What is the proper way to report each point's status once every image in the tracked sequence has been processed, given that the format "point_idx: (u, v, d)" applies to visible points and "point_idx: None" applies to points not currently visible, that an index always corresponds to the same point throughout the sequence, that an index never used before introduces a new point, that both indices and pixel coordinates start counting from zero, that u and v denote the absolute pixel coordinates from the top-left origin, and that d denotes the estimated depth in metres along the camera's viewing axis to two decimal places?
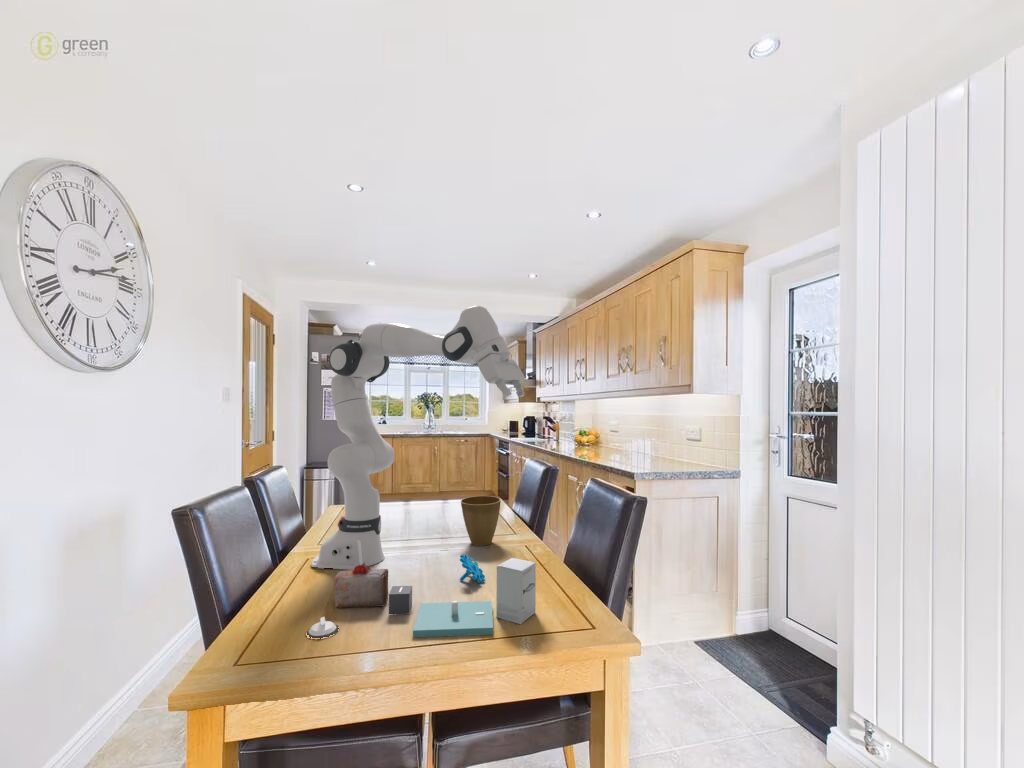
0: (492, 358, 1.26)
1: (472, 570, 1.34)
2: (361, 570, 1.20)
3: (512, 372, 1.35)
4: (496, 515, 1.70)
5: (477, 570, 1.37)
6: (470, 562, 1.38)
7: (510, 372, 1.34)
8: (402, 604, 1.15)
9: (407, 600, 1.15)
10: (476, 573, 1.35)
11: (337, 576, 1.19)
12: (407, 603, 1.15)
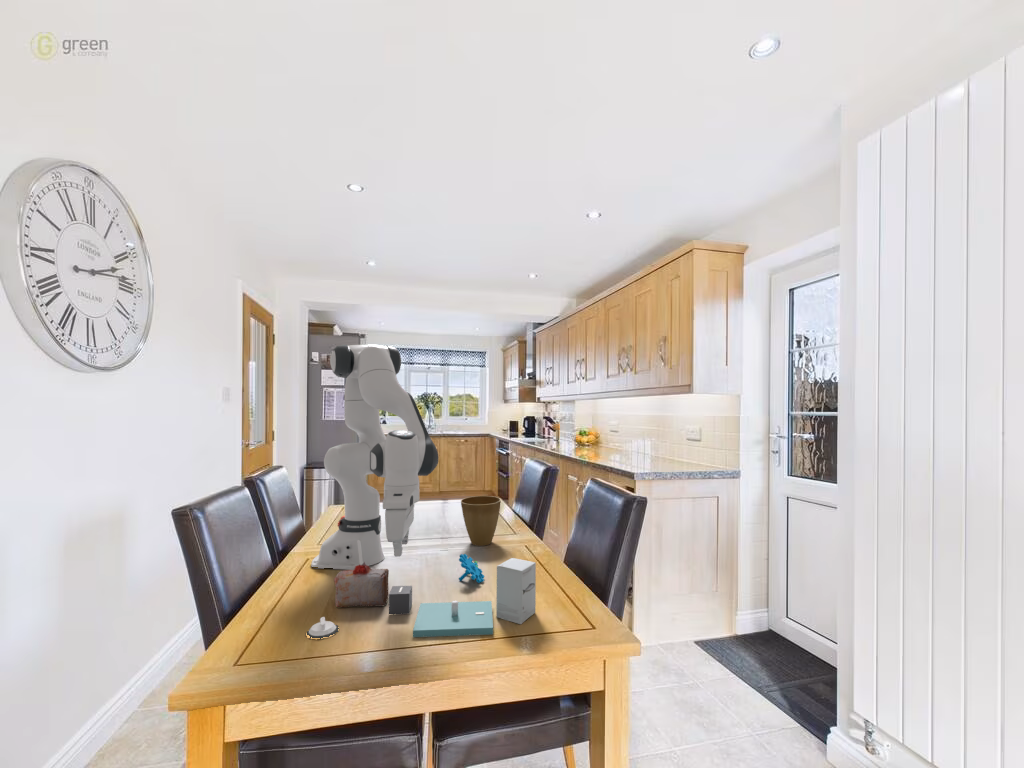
0: (405, 517, 1.10)
1: (471, 570, 1.34)
2: (361, 570, 1.20)
3: (409, 520, 1.20)
4: (496, 515, 1.70)
5: (476, 570, 1.37)
6: (469, 562, 1.38)
7: (409, 521, 1.19)
8: (402, 604, 1.15)
9: (407, 600, 1.15)
10: (475, 573, 1.35)
11: (337, 576, 1.20)
12: (407, 603, 1.15)
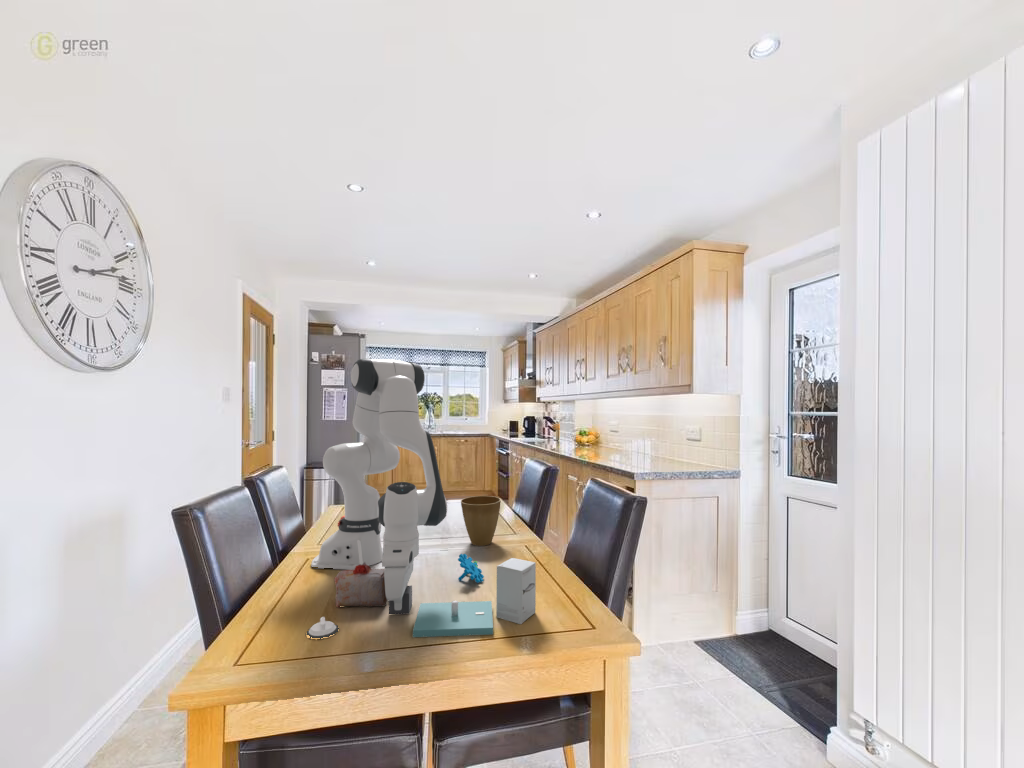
0: (404, 575, 1.09)
1: (470, 570, 1.34)
2: (361, 570, 1.20)
3: (409, 573, 1.20)
4: (496, 515, 1.70)
5: (476, 570, 1.37)
6: (469, 562, 1.38)
7: (408, 574, 1.19)
8: None
9: (407, 600, 1.15)
10: (474, 573, 1.35)
11: (338, 576, 1.20)
12: (407, 603, 1.15)
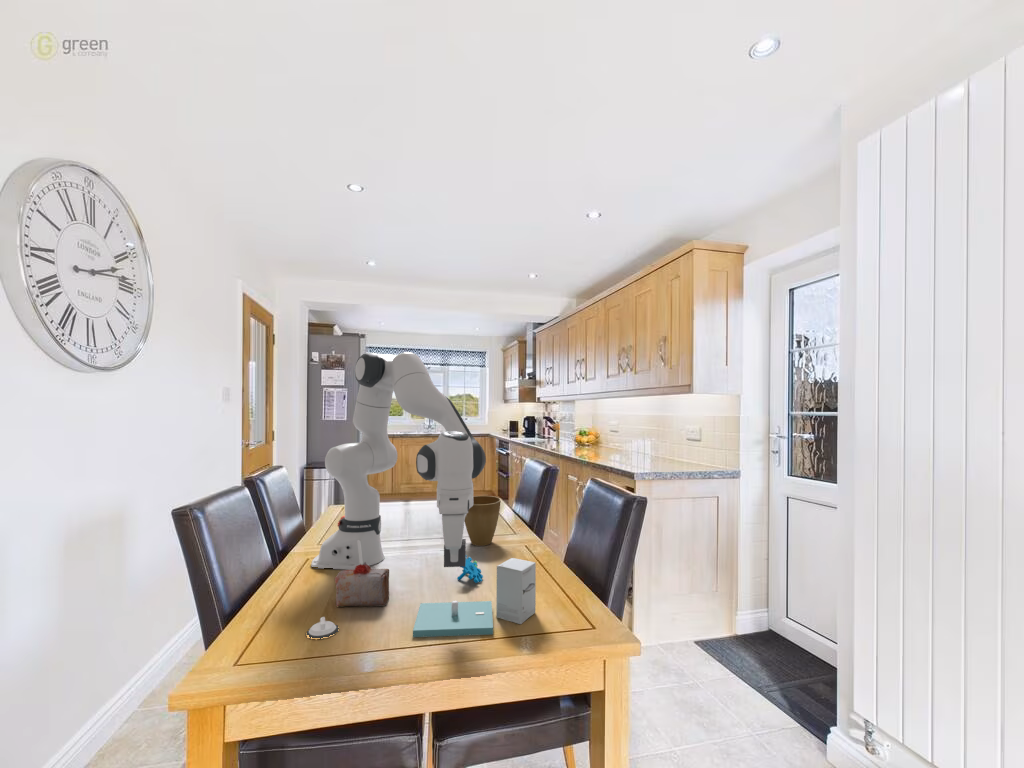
0: (463, 523, 1.04)
1: (469, 570, 1.34)
2: (362, 570, 1.20)
3: None
4: (496, 515, 1.70)
5: (475, 570, 1.37)
6: (468, 562, 1.38)
7: None
8: (458, 557, 1.10)
9: (463, 552, 1.10)
10: (473, 573, 1.35)
11: (338, 575, 1.20)
12: (463, 555, 1.10)
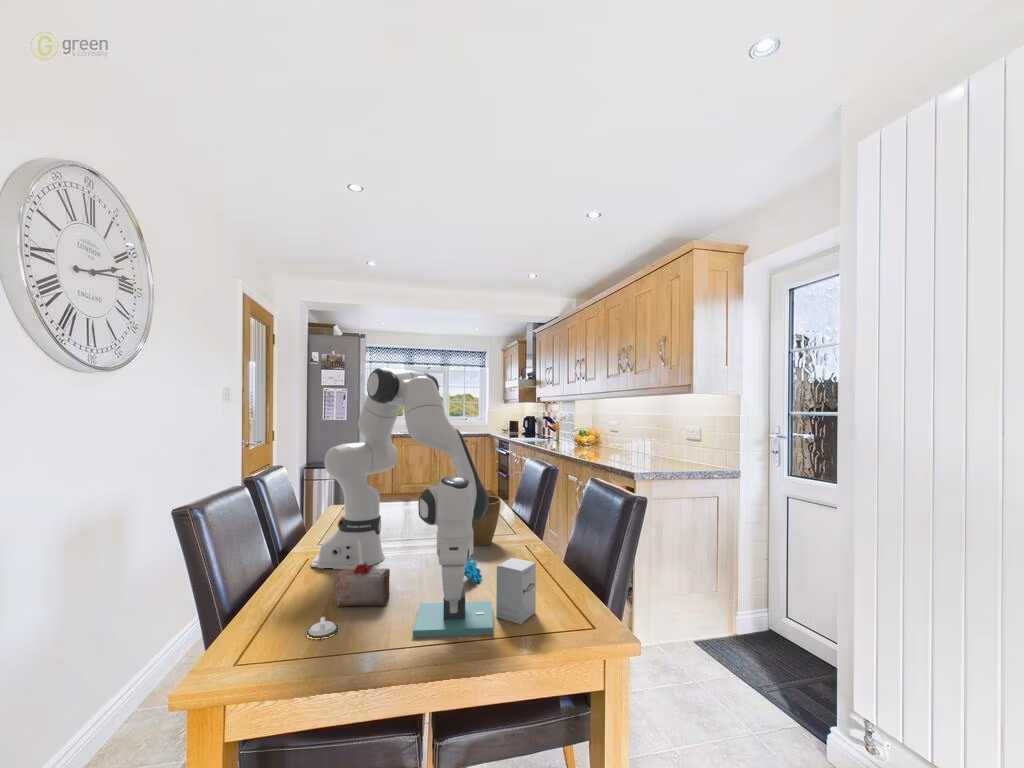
0: (463, 574, 1.04)
1: (467, 569, 1.34)
2: (362, 569, 1.20)
3: None
4: (496, 515, 1.70)
5: (474, 570, 1.37)
6: None
7: None
8: None
9: (463, 604, 1.10)
10: (471, 573, 1.35)
11: (338, 575, 1.20)
12: (463, 608, 1.10)
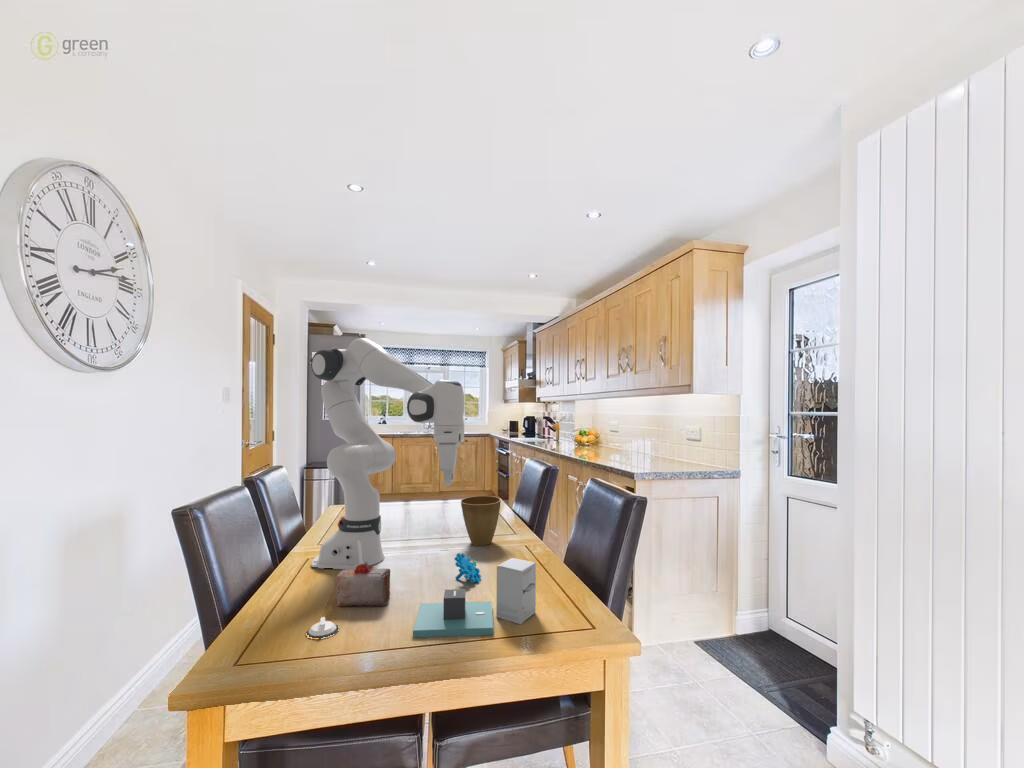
0: (455, 450, 1.27)
1: (466, 569, 1.34)
2: (362, 569, 1.21)
3: (455, 457, 1.37)
4: (496, 515, 1.70)
5: (472, 570, 1.37)
6: (466, 561, 1.38)
7: (455, 458, 1.36)
8: (457, 609, 1.09)
9: (463, 604, 1.10)
10: (470, 573, 1.35)
11: (339, 575, 1.20)
12: (463, 608, 1.10)
